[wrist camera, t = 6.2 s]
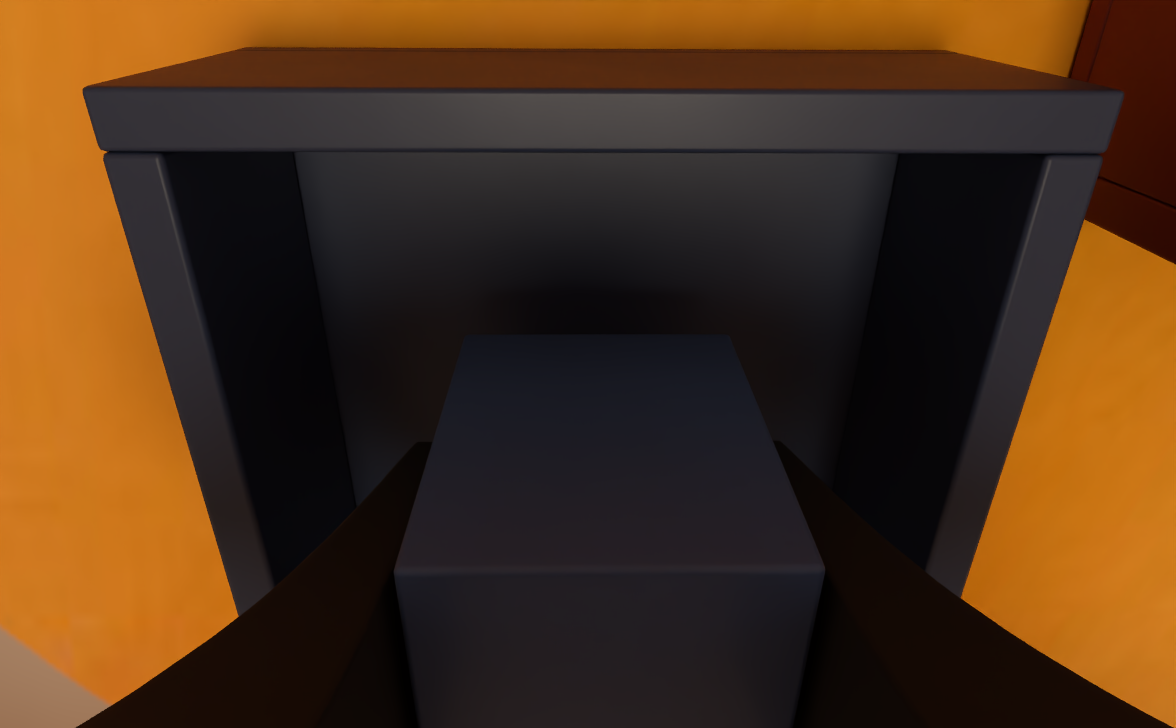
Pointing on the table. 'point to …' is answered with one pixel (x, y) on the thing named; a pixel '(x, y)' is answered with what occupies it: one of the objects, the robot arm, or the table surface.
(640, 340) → the blue block
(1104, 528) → the table surface
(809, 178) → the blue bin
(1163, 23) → the red bin
